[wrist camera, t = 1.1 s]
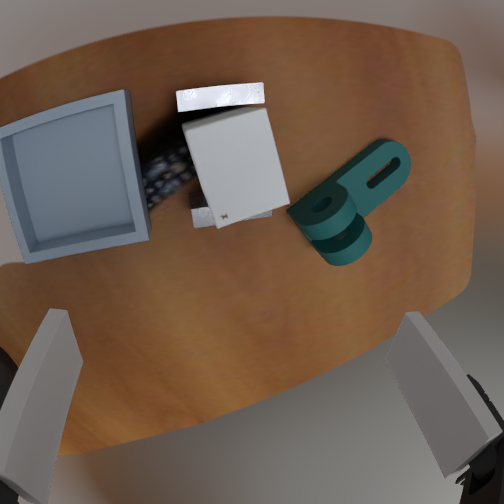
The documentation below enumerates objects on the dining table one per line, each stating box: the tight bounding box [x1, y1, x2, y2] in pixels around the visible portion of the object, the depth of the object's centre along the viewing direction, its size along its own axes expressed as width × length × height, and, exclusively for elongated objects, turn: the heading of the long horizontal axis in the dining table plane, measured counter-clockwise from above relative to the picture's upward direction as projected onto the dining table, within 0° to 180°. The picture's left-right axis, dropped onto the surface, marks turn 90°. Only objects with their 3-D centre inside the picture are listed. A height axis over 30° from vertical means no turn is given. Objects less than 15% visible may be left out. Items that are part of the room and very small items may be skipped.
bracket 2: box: [286, 139, 411, 266], centre depth 37 cm, size 18×7×8 cm, turn 127°
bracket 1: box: [176, 83, 272, 228], centre depth 32 cm, size 8×14×6 cm, turn 4°
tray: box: [0, 89, 152, 264], centre depth 30 cm, size 16×16×4 cm
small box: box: [182, 107, 290, 229], centre depth 29 cm, size 8×6×13 cm
